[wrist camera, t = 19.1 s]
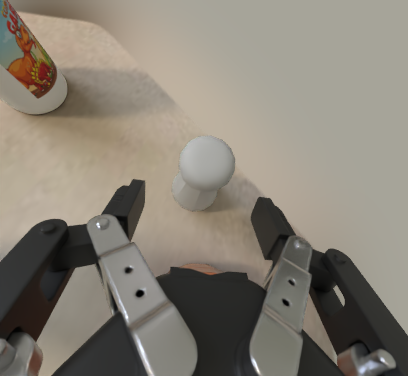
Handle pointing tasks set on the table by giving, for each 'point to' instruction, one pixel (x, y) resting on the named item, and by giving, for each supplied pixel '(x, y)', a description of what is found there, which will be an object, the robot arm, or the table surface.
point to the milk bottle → (26, 68)
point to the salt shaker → (202, 172)
